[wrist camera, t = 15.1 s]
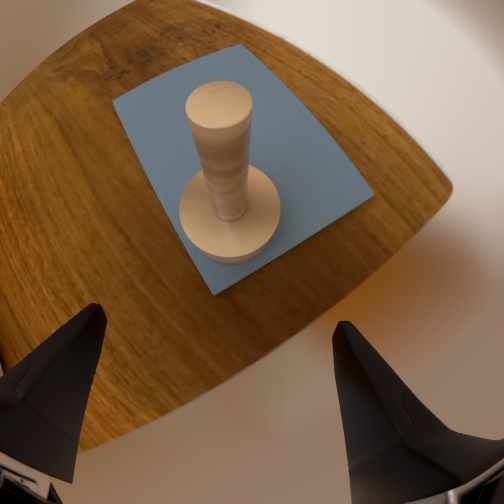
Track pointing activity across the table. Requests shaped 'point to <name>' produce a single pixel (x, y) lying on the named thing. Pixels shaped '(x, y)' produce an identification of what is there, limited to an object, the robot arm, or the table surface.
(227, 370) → the table surface
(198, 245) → the wooden stamp
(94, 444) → the table surface
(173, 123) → the mat
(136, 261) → the table surface
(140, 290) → the table surface
